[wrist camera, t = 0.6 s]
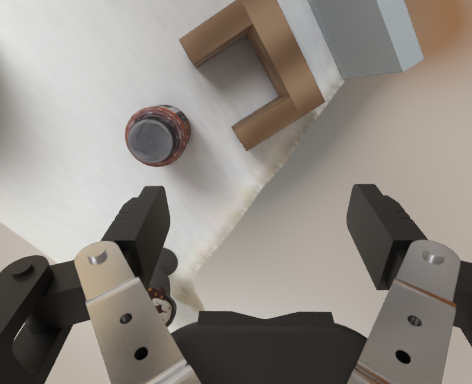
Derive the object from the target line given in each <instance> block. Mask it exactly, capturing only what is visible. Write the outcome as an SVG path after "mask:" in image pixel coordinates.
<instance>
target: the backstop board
mask: <svg viewBox="0 0 472 384" xmlns="http://www.w3.org/2000/svg"><path fill="white" fill-rule="evenodd" d="M308 1H309V4H310V6H311V8H312V10H313V13H314V15H315V17H316V19H317V22H318V24H319V26H320V28H321V31H322V33H323V35H324V37H325V40H326V42H327V44H328V46H329V49H330V51H331V53H332V55H333V58H334V60H335V62H336V65H337V67H338V69H339V71H340V74H341V76H342V78H343V79H348V78H356V77H365V76H373V75H382V74H391V73H400V72H404V71H405V70H407V69H409V68H411V67H412V66H414V65H415V64H417V63H419V62H420V61H422V60H423V59H424V58H423V55H422V52H421V49H420V46H419V43H418V40H417V37H416V34H415V31H414V28H413V25H412V22H411V19H410V16H409V13H408V10H407V7H406V5H405V2H404V0H308Z"/></svg>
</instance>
